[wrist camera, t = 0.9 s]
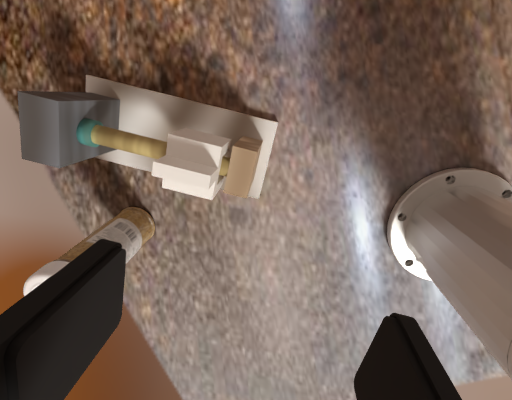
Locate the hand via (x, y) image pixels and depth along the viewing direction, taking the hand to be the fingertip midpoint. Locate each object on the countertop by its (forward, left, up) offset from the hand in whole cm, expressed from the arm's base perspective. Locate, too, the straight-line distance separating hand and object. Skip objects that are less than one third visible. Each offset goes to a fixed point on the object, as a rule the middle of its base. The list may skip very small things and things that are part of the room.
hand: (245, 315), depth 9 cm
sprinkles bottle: (+14, +11, -22) cm, 28 cm away
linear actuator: (+10, 0, -22) cm, 24 cm away
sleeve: (+6, 0, -17) cm, 18 cm away
